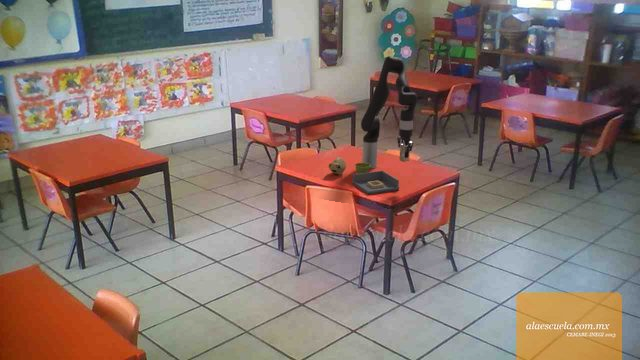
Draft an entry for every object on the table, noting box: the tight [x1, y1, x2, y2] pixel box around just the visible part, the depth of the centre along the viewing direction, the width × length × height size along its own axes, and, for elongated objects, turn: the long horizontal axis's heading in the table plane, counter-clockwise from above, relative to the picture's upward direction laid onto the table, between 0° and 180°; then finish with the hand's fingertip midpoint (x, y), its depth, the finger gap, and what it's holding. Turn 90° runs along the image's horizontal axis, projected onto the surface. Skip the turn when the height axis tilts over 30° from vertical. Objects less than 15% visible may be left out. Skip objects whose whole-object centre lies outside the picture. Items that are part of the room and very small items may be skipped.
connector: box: [399, 145, 411, 163], centre depth 343 cm, size 4×4×9 cm
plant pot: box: [354, 162, 370, 174], centre depth 364 cm, size 9×9×9 cm
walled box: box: [352, 170, 400, 196], centre depth 349 cm, size 20×20×6 cm
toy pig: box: [328, 156, 347, 176], centre depth 371 cm, size 10×12×11 cm
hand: (404, 156), depth 344 cm, fingers closed on connector, 4 cm apart
